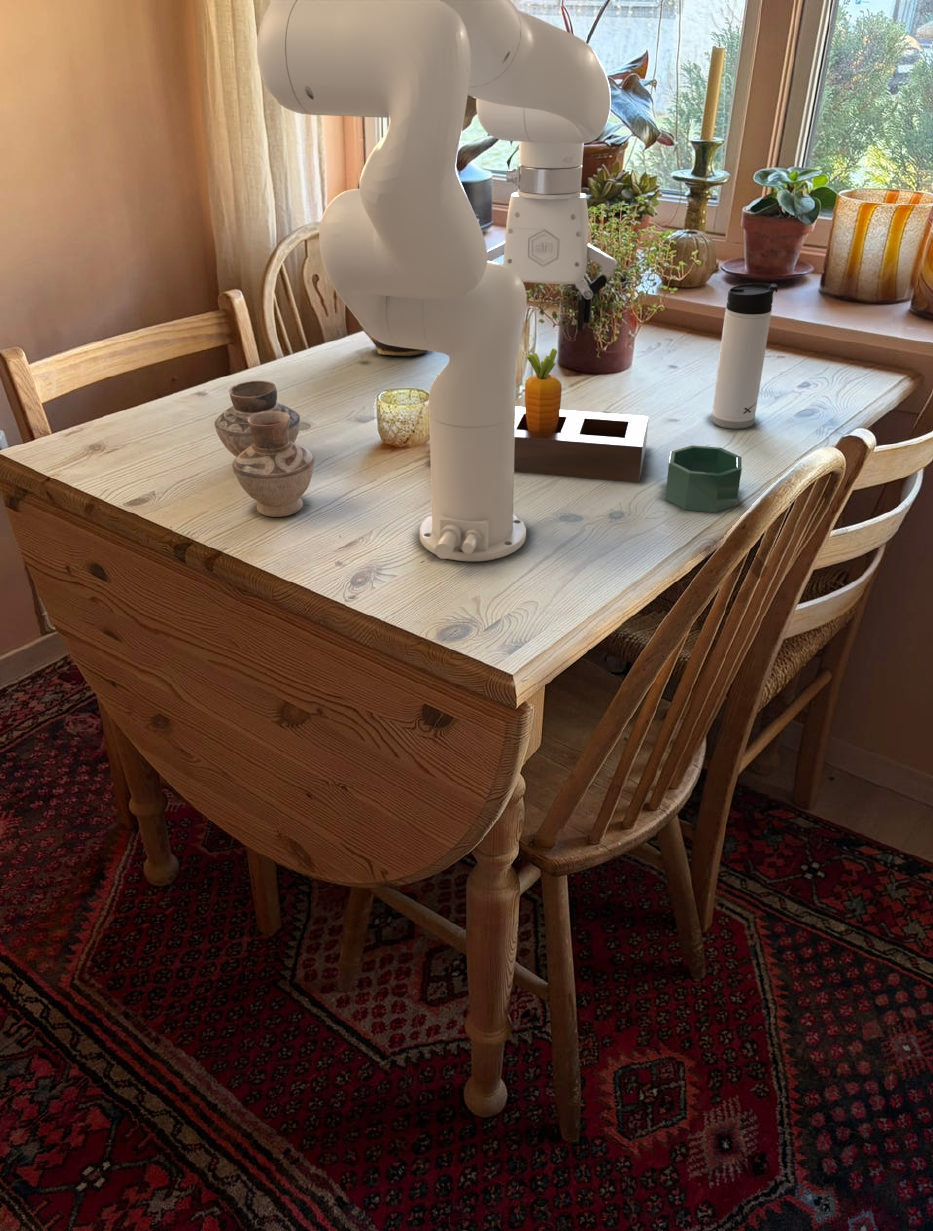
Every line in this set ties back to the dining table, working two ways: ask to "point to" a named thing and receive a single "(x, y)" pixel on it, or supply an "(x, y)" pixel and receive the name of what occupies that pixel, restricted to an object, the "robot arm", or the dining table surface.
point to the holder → (703, 478)
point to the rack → (583, 446)
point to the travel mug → (742, 354)
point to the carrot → (542, 395)
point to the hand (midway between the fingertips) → (544, 326)
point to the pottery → (266, 448)
